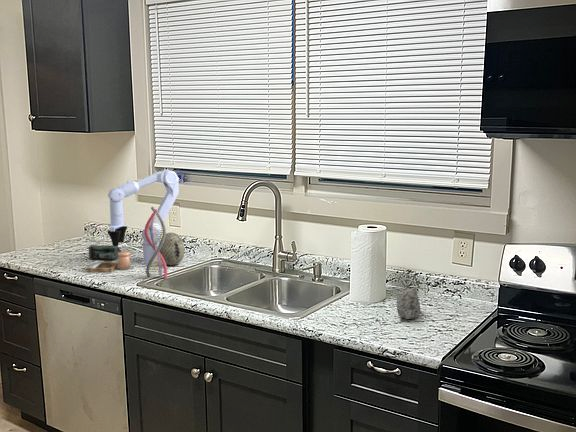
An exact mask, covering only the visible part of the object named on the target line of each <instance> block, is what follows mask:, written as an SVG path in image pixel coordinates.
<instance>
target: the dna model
mask: <svg viewBox="0 0 576 432" xmlns="http://www.w3.org/2000/svg"><path fill="white" fill-rule="evenodd" d="M150 209H151V211H152V213H151V215H150V217H149V218H148V220H147V221H146V224H145V226H144V229H143V230H145V231H144V232H145V233H144V234H145V237H146V240H147V241H148V243H149V244H150V245H151V247H152V248H153V249H154V250H155V253H154V255H153V256H152V258H151V260H150V261H149V263H147V264H146V268H145V274H146V277H147V278H150V277H156V278H163V279H167V278H168V266H167V264H166V262H165V260H164V258H163V256H162V255H161V254H160V252H159V251H160V249H161V248H162V246H163V243H164V241H165V237H166V234H167V230H166V229H167V228H166V225H165V221H164V222H163V220H162V218H161V216H160V215H159V214H158V208H155V207H154V206H151V207H150ZM155 215H156V216H157V217H156V216H155ZM154 217H156V218H159V219H156V218H154ZM154 219H156V220H160V221H155V220H154ZM153 221H155V222H160V223H161V224H160V225H162V226H160V227H161V228H160V229H161V230H158V231H161V232H153V230H155V229H152V228H157V227H153V226H158V225H153V224H150V223H154V222H153ZM154 224H158V223H154ZM149 225H151V226H149ZM148 227H150V229H148ZM148 230H150V231H148ZM147 233H150V234H147ZM152 233H160V234H152ZM148 235H151V236H150V237H149V236H148ZM153 235H159V236H153ZM154 237H159V238H157V239H159V240H158V241H159V243H160V245H156V246H159V247H156V246H155V244H154V242H158V241H153V240H157V239H153V238H154ZM150 238H151V239H150ZM161 239H162V240H161ZM151 240H152V242H151ZM160 241H161V242H160ZM156 244H158V243H156ZM156 248H158V249H156ZM157 255H158V256H157ZM156 256H157V257H158V258H157V257H156ZM155 258H157V259H158V260H156V259H155ZM159 258H160V259H159ZM153 260H156V261H158V262H156V263H158V264H154V263H152V262H155V261H153ZM159 260H162V261H159ZM160 262H162V263H160Z"/></svg>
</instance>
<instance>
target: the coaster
mask: <svg viewBox="0 0 576 432" xmlns="http://www.w3.org/2000/svg"><path fill="white" fill-rule="evenodd" d="M134 269H135V266H131V265H130V269H125V270H122V269H119V268H118V270H119V271H123V272H125V271H131V270H134Z"/></svg>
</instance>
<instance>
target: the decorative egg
mask: <svg viewBox="0 0 576 432" xmlns="http://www.w3.org/2000/svg"><path fill="white" fill-rule="evenodd" d="M160 240H162V239H160ZM160 242H161V241H159V245H160ZM185 250H186V249H185V244H184V240H182V238H181V236H180V235H178V234H177V233H175V232H166V237H165V241H164V243H163V246H162V248H161V249H160V251H159V252H160V254H161V255H162V256H163V258H164V260H165V262H166V265H169V266H175V265H178V264H179V263H180V262H182V260H183V259H184V257H185V252H186V251H185Z"/></svg>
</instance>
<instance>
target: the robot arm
mask: <svg viewBox="0 0 576 432" xmlns="http://www.w3.org/2000/svg"><path fill="white" fill-rule="evenodd" d="M179 181H180V178H179V176H178V174H177V173H176V172H175V171H173V170H170V169H162V170H160V171H157V172H154V173H152V174H150V175H148V176H146V177H143V178H142V179H140V180H138V181H134V180H127V181H126V183H123V184H121V185H117V186H116V187H112V188H111V189H110V190H109V191H108V194H107V197H108V198H109V213H110V214H109V215H110V223H108V225H107V226H108V227H109V230H107V234H108V235H109V238H110V240H111V244H112V246H118V247H119V243H124V241H125V235H126V231H127V229H128V226H127V225H126V226H125V220H124V217H125V216H124V203H123V200H124V198H128V197H130V196H133V195H135V194H137V193H138V192H139V190H140V189H141V188H144V187H147V186H149V185H152V184H154V183H161V184H163V185H164V188H165V191H166V193H165V195H164V196H163V197H162V200H161V202H160V204H159V207H158V208H157V210H158V214H159V215H160V216H161V218H162V220H163V222H164V223H165V220H166V219H167V216H168V214H169V212H170V211H171V209H172V207H173V205H174V203H175V202H176V199H177V197H178V195H179V193H180V190H179V189H180V188H179V187H180V185H179ZM155 216H156V215H155ZM156 217H157V216H156ZM156 217H154V218H156ZM156 219H159V218H156ZM156 219H154V220H155V221H160V220H156ZM155 221H153V222H154V223H158V224H154V223H150V224H153V225H158V226H153V227H157V228H152V229H155V230H153V232H162V231H158V230H162V229H160V228H162V227H160V226H162V225H160V224H161V223H160V222H155ZM149 226H151V225H149ZM148 229H150V227H148ZM144 231H145V230H144V229H143V230H142V231H141V238H142V239H143V242H142V254H143V255H142V256H143V259H142V261H141V262H140V264H148V263H149V261H150V260H151V258H152V256H153V255H154V253H155V250H154V249H153V248H152V247H151V245H150V244H149V243H148V241H147V240H146V237H145V234H144V233H145V232H144ZM148 231H150V230H148ZM147 234H150V233H147ZM152 234H161V233H152ZM148 236H149V237H150V236H151V235H148ZM153 236H160V235H153ZM157 238H160V237H154V238H153V239H157ZM150 239H151V238H150ZM159 240H160V239H157V240H153V241H158V242H154V244H155V246H156V245H159V243H160V241H159ZM151 242H152V240H151ZM156 243H158V244H156ZM156 247H159V246H156ZM156 249H158V248H156ZM157 256H158V255H157ZM157 256H156V257H157ZM157 258H158V257H157ZM157 258H155V259H156V260H158V259H157ZM159 259H160V258H159ZM156 260H153V261H155V262H152V263H154V264H157V265H158V263H156V262H158V261H156ZM159 261H162V260H159ZM160 263H162V262H160ZM162 264H163V263H162Z"/></svg>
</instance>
